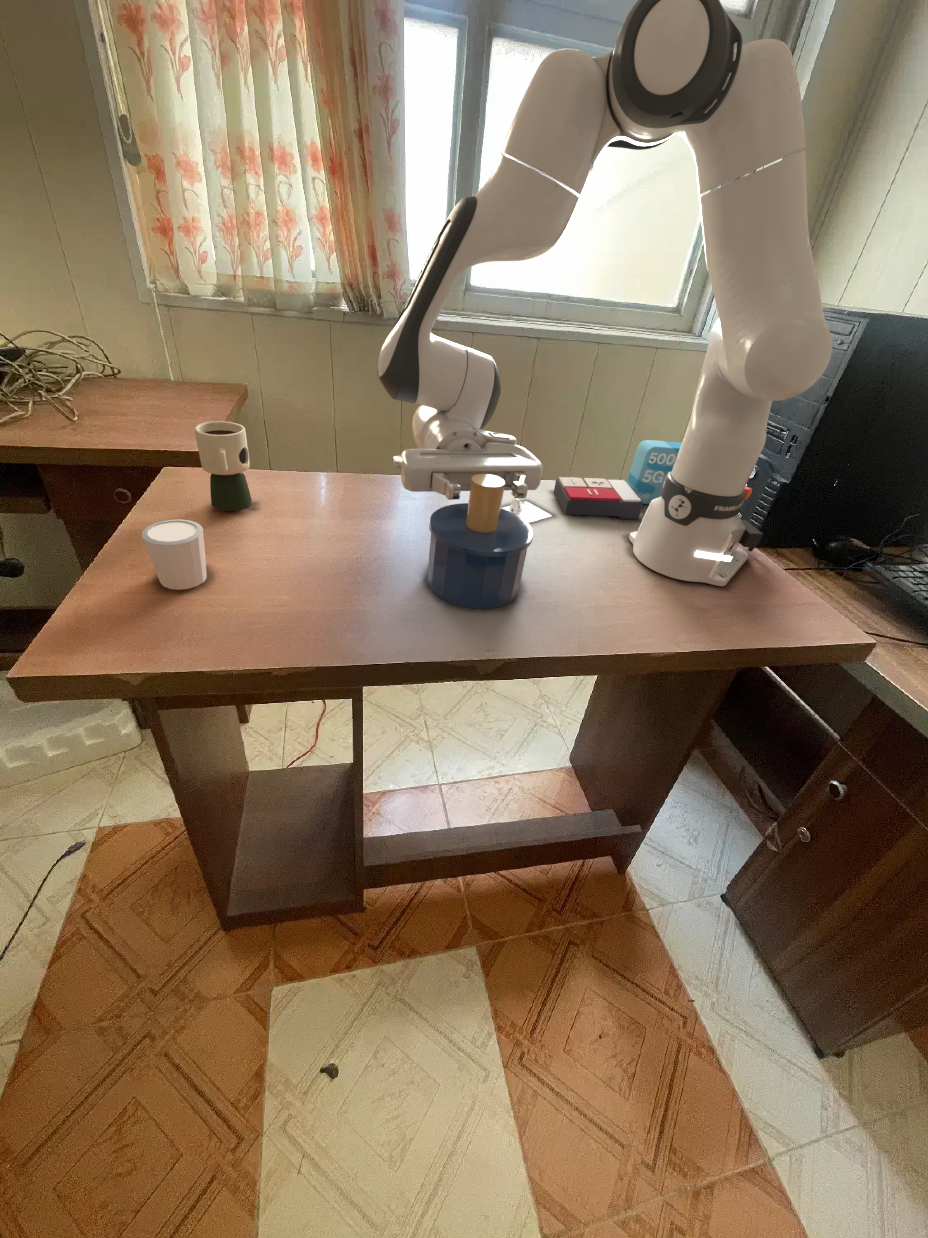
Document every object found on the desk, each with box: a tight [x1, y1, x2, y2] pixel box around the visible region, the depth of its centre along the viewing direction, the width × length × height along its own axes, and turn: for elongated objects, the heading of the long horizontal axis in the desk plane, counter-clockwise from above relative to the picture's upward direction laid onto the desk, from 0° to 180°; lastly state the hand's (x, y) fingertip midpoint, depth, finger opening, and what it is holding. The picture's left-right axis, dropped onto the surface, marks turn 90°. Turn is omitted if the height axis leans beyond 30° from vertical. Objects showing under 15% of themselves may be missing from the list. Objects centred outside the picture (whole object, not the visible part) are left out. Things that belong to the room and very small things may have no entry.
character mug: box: [194, 420, 253, 512], centre depth 83 cm, size 11×7×13 cm, turn 19°
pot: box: [426, 533, 528, 610], centre depth 75 cm, size 13×13×8 cm
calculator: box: [553, 476, 644, 520], centre depth 105 cm, size 11×4×15 cm
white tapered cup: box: [141, 519, 208, 591], centre depth 67 cm, size 7×7×7 cm
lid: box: [428, 474, 534, 557], centre depth 70 cm, size 14×14×8 cm
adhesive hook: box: [508, 497, 526, 515], centre depth 97 cm, size 3×3×3 cm
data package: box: [626, 439, 682, 505], centre depth 109 cm, size 12×4×12 cm, turn 98°
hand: (489, 493), depth 68 cm, fingers open, 8 cm apart
